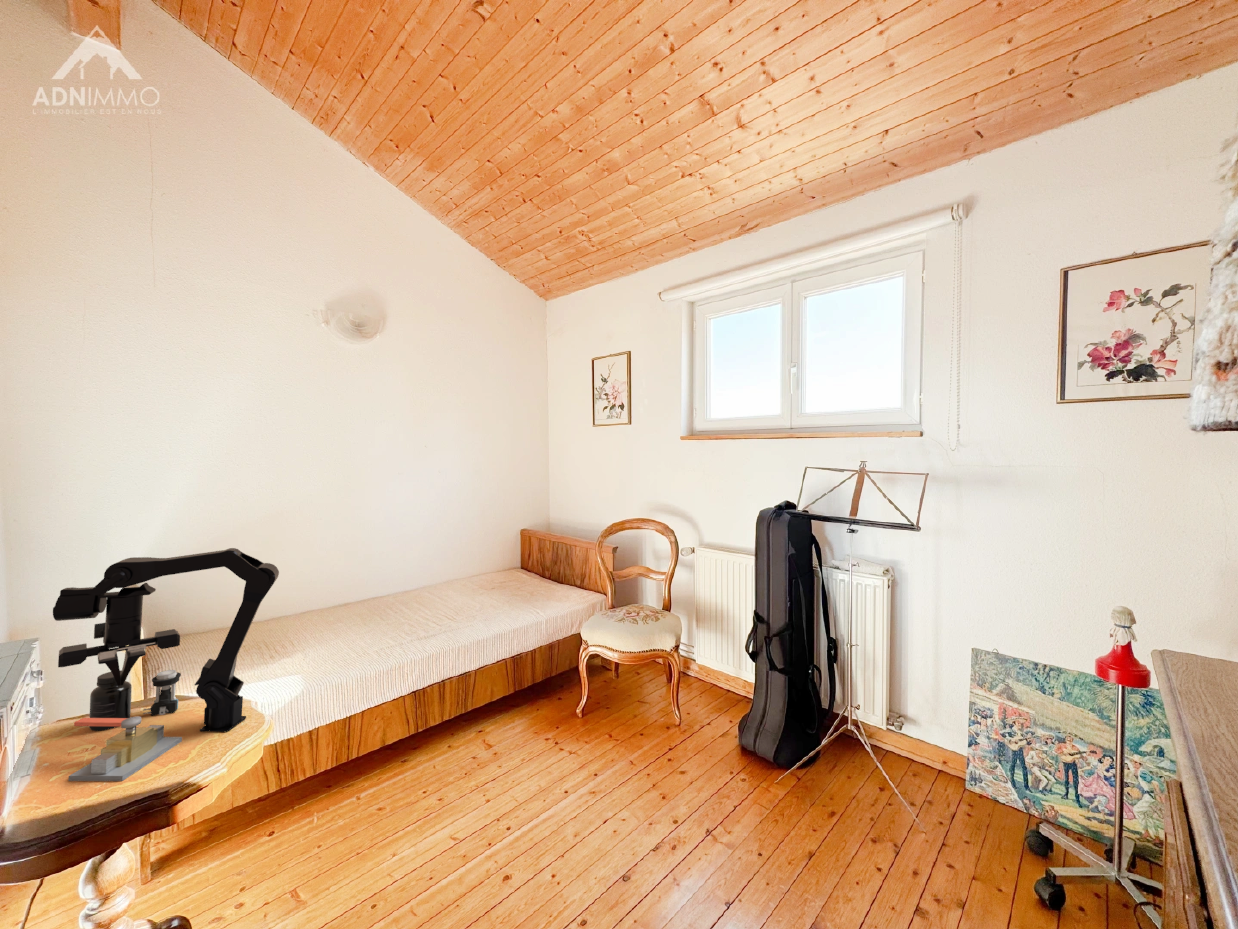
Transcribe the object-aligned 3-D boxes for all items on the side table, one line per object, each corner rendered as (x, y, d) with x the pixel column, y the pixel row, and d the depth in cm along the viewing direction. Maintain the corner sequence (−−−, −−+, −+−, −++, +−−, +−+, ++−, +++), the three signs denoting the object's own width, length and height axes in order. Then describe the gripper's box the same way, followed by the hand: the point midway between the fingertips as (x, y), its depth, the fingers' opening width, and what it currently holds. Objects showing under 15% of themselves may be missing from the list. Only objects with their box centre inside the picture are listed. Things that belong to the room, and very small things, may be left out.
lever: (145, 721, 104) (145, 716, 104) (132, 728, 101) (132, 723, 101) (85, 720, 103) (86, 716, 103) (70, 728, 100) (71, 723, 100)
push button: (138, 720, 117) (141, 679, 117) (147, 710, 122) (149, 671, 122) (174, 715, 120) (176, 675, 120) (181, 705, 125) (184, 667, 125)
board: (181, 741, 109) (182, 737, 109) (122, 781, 95) (122, 776, 95) (135, 741, 109) (135, 736, 109) (68, 781, 95) (68, 776, 95)
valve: (168, 740, 109) (170, 711, 109) (111, 777, 96) (113, 744, 96) (145, 740, 108) (146, 711, 108) (84, 777, 95) (86, 744, 95)
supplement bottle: (98, 720, 116) (101, 670, 117) (135, 715, 119) (138, 666, 119) (81, 734, 110) (84, 682, 110) (121, 729, 113) (124, 677, 113)
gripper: (175, 600, 120) (171, 663, 120) (61, 615, 106) (57, 686, 106) (182, 610, 113) (178, 677, 113) (60, 627, 99) (55, 704, 99)
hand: (120, 685), depth 108 cm, fingers closed
